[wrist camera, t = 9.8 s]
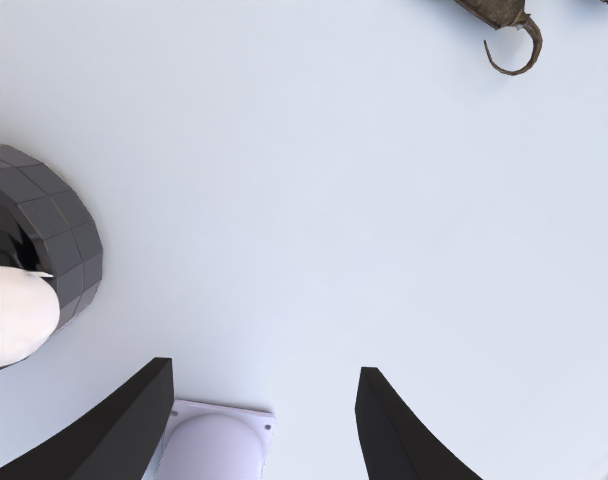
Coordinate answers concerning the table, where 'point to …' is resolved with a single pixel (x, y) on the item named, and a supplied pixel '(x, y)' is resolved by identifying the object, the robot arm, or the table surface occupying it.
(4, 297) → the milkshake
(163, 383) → the robot arm
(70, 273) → the bowl
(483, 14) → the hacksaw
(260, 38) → the table surface
